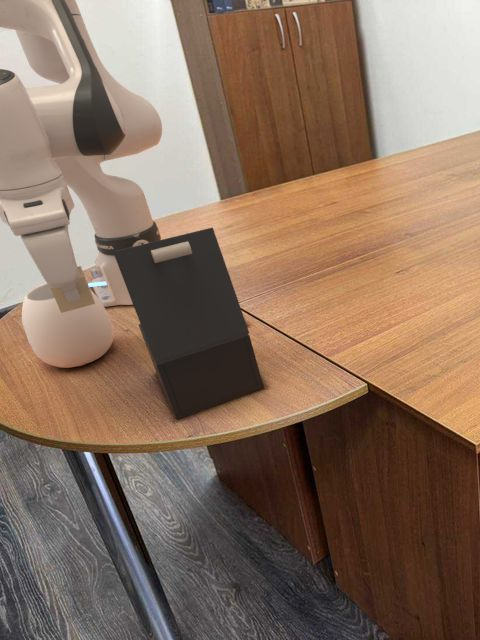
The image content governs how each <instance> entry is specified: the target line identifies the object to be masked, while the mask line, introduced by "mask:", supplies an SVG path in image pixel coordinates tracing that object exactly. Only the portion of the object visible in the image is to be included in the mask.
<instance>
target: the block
mask: <svg viewBox="0 0 480 640" xmlns="http://www.w3.org/2000/svg"><path fill="white" fill-rule="evenodd" d="M77 268H78V273H79V279H80V280H79V282H78V283H76V286H77V288H78V291H79V293H80V296H81V299H80V300H78V301H75V302H68V301H67V300H66V297H65V295H64V293H63V291H62V290H61V288H56V289H53V288H51V287H50V289H51V291H52V293H53V296H54V298H55V300H56V302H57V305H58V307H59V309H60V312H61V313H63V312H67V311H71V310H74V309H78V308H82V307H85V306H89V305H93V304H95V302H94V299H93V296H92V293H91V291H92V289H91V287H89V285H88V281H87V278H86V275H85V273H84V271H83V268H82V266H81V265H80V266H79V265H78V266H77Z"/></svg>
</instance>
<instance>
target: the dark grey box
mask: <svg viewBox="0 0 480 640" xmlns="http://www.w3.org/2000/svg"><path fill="white" fill-rule="evenodd" d="M138 327H139V330H140V332H141V335H142V338H143V340H144V343H145V346H146V349H147V352H148V354H149V357H150V359H151V362H152V366H153V367H154V370H155V372H156V375H157V378H158V380H159V382H160V384H161V387H162V390H163V392H164V395H165V396H166V399H167V401H168V403H169V405H170V408H171V410H172V413H173V415H174V417H175V420H179V419H182V418H185V417H187V416H190V415H194V414H196V413H199V412H200V411H205V410H206V409H210V408H211V407H215V406H219V405H221V404H224V403H227V402H229V401H232V400H235V399H238V398H241V397H244V396H246V395H249V394H252V393H254V392H258V391H259V390H263V389H264V388H265V387H264V383H263V379H262V376H261V372H260V369H259V365H258V360H257V357H256V353H255V351H254V347H253V343H252V339H251V336H250V333H249V334H245V335H242V336H239V337H236V338H233V339H230V340H227V341H224V342H220V343H217V344H214V345H211V346H208V347H205V348H202V349H199V350H195V351H192V352H189V353H186V354H183V355H180V356H177V357H173V358H170V359H167V360H164V361H161V362H158V363H155V361H154V358H153V355H152V353H151V350H150V348H149V345H148V342H147V340H146V337H145V334H144V332H143V329H142V327H141V324H140V323H139V324H138Z"/></svg>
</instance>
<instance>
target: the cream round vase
mask: <svg viewBox="0 0 480 640" xmlns="http://www.w3.org/2000/svg"><path fill="white" fill-rule="evenodd" d="M91 293H92V296H93V299H94V302H95V304H93V305H89V306H85V307H82V308H78V309H74V310H71V311H67V312H63V313H61V312H60V309H59V307H58V305H57V302H56V300H55V298H54V296H53V293H52V291H51V289H50V286H49V285H48V284H47V282H45V283H42V284H40V285H38V286H36V287H34V288H32V289H30V290H29V291H28V292H27V293H26V294H25V295H24V297H23V301H22V307H21V324H22V328H23V330H24V333H25V336H26V338H27V341H28V343H29V345H30V347H31V349H32V351H33V353H34V355H35V356H36V357H38V358H39V360H41V361H42V362H43V363H45V364H47V365H50V366H52V367H56V368H61V369H63V368H65V369H70V368H75V367H81V366H84V365H87V364H89V363H92V362H95V361H96V360H98V359H101V358H102V356H104V355H105V354H106V353H107V352H108V351H109V349H110V348H111V346H112V344H113V341H114V333H115V329H114V326H113V322H112V321H111V317H110V315H109V313H108V311H107V310H106V307H104V306H103V304H102V302H101V301H100V299H99V298H98V297H97V295H96V293H95V292H94V291H92V290H91Z"/></svg>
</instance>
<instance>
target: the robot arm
mask: <svg viewBox="0 0 480 640" xmlns="http://www.w3.org/2000/svg"><path fill="white" fill-rule="evenodd" d="M81 13H82V12H81V11H80V8H79V6H78V3H77V0H0V28H3V29H7V30H14V31H15V33H16V36H17V37H18V40H19V42H20V45H21V47H22V51H23V52H24V55H25V58H26V60H27V62H28V65H29V67H30V68H31V69H32V70H33V72H35V74H37V75H38V76H40V77H41V78H44V79H45V80H47V81H51V82H52V83H57V84H51V85H42V86H33V87H25V86H24V84H23V82H22V80H21V79H20V77H19V76H18V74H16V73H15V72H14V71H12V70H8V69H3V68H0V220H1V221H2V222H3V223H4V224H6V225H7V226H9V228H10V230H11V232H12V234H13V235H14V236H15V237H19V236H20V239H21V241H22V242H23V244H24V246H25V248H26V250H27V252H28V255H30V257H31V259H32V261H33V263H34V264H35V267H36V268H37V269H38V271H39V273H40V274H41V276H42V278H43V279H44V281H45V283H47V284H48V285H49V286H50V287H51V288H53V289H56V288H61V290H62V291H63V293H64V295H65V297H66V300H67V301H68V302H75V301H78V300H80V299H81V296H80V293H79V291H78V288H77V286H76V283H78V282H79V280H80V279H79V273H78V268H77V267H78V264H77V260H76V257H75V254H74V253H75V252H74V249H73V246H72V242H71V238H70V233H69V225H70V224H71V222H70V220H71V219H70V215H71V213H72V210H73V209H74V208H75V203H74V201H73V198H72V196H71V192H70V190H72V191H73V192H74V194H75V195H76V196H77V198H78V199H79V201H80V202H81V204H82V206H83V208H84V210H85V212H86V214H87V217H88V219H89V221H90V223H91V226H92V228H93V230H94V231H93V232H94V243H95V245H96V249H97V251H98V253H97V255H96V257H95V259H94V264H95V267H91V268H89V272H90V274H91V277H92V278H93V279H92V280H91V281H90V282H89V283H88V282H87V283H88V285H89V288H91V287H92V289H93V292H94V294H95V295H96V296H97V297H98V298H99V299H100V301H101V302H102V304H103V306H104V308H106V307H114V306H133V303H132V300H131V298H130V295H129V293H128V290H127V287H126V285H125V282H124V279H123V277H122V274H121V272H120V269H119V266H118V264H117V261H116V259H115V256H114V253H113V251H117V250H121V249H126V248H130V247H134V246H138V245H142V244H146V243H150V242H154V241H159V240H162V237H161V234H160V229H159V227H158V224H157V222H156V221H154V220H153V216H152V214H151V211H150V208H149V204H148V201H147V199H146V195H145V192H144V190H143V189H142V188H141V186H140V185H139V184H137V183H136V182H135V181H133V180H132V179H129V178H124V177H120V176H116V175H111V174H107V173H105V172H104V171H103V169H102V167H101V163H103V162H106V161H107V162H108V161H112V160H117V159H120V158H125V157H130V156H134V155H138V154H141V153H143V152H145V151H147V150H149V149H151V148H154V147H155V146H158V145H159V143H160V141H161V138H162V135H163V124H162V119H161V116H160V115H159V113H158V111H157V109H156V108H155V107H154V106H153V105H152V104H151V103H150V102H149V101H148V100H147V99H145V98H144V97H142V96H141V95H138V94H136V93H134V92H132V91H130V90H129V89H128V88H126V87H125V86H123V85H122V84H121V83H119V81H117V80H116V79H115V77H114V76H112V74H111V73H110V72H109V71H108V70H107V68H106V67H105V66H104V64H103V63H102V61H101V59H100V56H99V55H98V53H97V51H96V48H95V47H94V44H93V42H92V39H91V37H90V34H89V31H88V29H87V27H86V24H85V22H84V21H85V20H84V18H83V15H82V14H81ZM69 188H70V190H69Z"/></svg>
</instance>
